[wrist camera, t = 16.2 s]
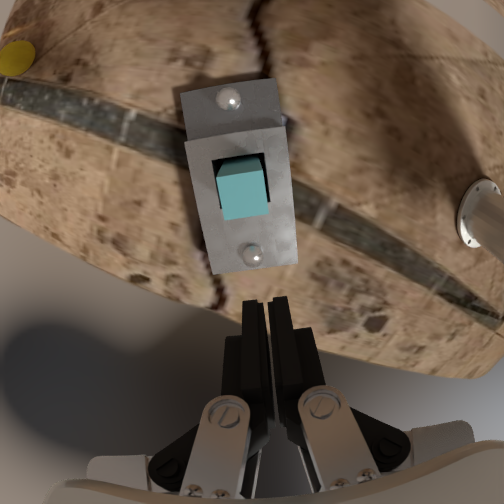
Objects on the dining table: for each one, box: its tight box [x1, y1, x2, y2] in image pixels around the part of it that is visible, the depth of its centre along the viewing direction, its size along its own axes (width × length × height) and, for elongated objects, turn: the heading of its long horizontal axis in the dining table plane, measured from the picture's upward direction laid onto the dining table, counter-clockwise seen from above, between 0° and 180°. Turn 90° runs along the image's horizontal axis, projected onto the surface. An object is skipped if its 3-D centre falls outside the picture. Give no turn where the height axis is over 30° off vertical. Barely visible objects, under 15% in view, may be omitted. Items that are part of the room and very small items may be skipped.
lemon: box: [0, 40, 35, 76], centre depth 18 cm, size 6×6×8 cm
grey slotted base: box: [180, 78, 298, 274], centre depth 30 cm, size 11×22×5 cm, turn 8°
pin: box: [216, 155, 269, 220], centre depth 28 cm, size 4×4×10 cm
